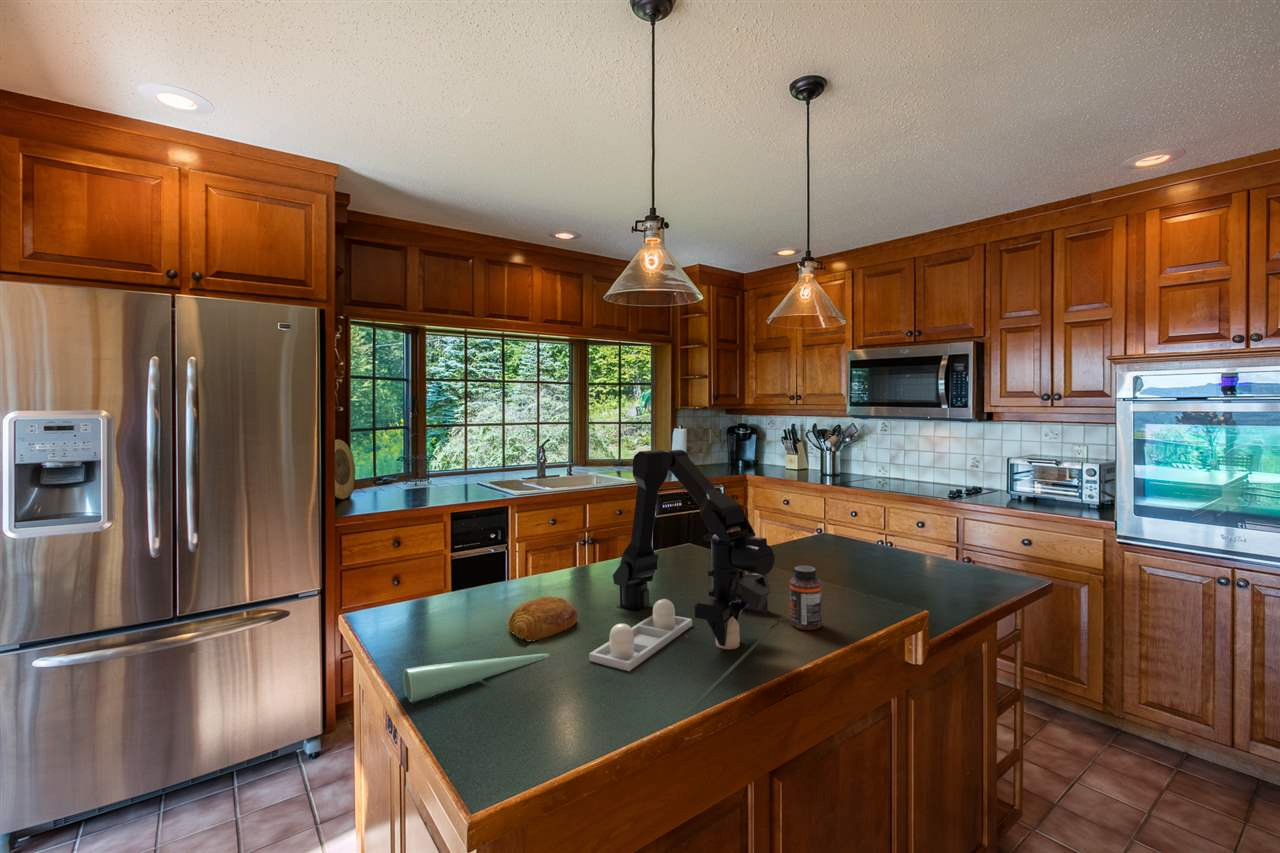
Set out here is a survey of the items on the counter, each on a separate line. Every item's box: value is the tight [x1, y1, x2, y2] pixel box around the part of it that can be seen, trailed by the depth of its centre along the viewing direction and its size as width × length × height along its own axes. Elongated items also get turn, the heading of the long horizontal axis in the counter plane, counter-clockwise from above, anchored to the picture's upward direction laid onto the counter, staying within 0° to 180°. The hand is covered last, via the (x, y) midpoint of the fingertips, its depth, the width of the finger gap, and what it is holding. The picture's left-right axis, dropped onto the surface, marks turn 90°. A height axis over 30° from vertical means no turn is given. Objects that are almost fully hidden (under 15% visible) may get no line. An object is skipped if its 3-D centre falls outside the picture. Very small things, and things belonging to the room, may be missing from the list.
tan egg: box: [715, 617, 741, 650], centre depth 118 cm, size 5×5×6 cm
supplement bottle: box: [789, 565, 823, 631], centre depth 128 cm, size 7×7×13 cm
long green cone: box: [402, 653, 550, 703], centre depth 107 cm, size 5×6×27 cm
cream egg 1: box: [608, 622, 635, 661], centre depth 113 cm, size 5×5×6 cm
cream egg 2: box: [652, 598, 676, 631], centre depth 127 cm, size 5×5×6 cm
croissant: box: [508, 596, 578, 642], centre depth 131 cm, size 14×16×8 cm
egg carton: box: [588, 614, 693, 672], centre depth 120 cm, size 9×26×2 cm, turn 148°
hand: (727, 641), depth 118 cm, fingers closed on tan egg, 5 cm apart
